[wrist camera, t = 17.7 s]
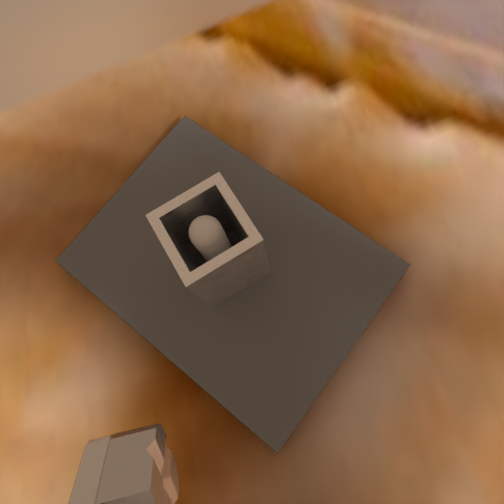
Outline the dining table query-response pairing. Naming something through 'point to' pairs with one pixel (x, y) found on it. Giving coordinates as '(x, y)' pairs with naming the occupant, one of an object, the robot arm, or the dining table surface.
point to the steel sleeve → (225, 264)
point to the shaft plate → (248, 299)
